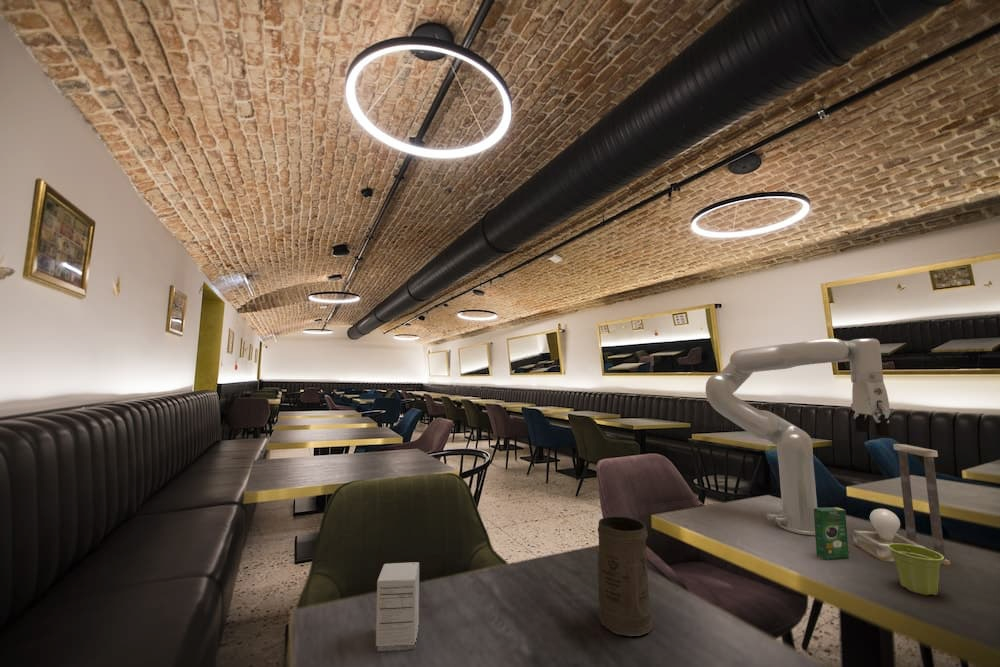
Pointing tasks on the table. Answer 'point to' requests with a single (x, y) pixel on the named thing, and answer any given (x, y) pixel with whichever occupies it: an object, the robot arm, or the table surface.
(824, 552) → the coffee box
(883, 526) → the lightbulb
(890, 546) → the plant pot
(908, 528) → the socket stand
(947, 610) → the table surface
